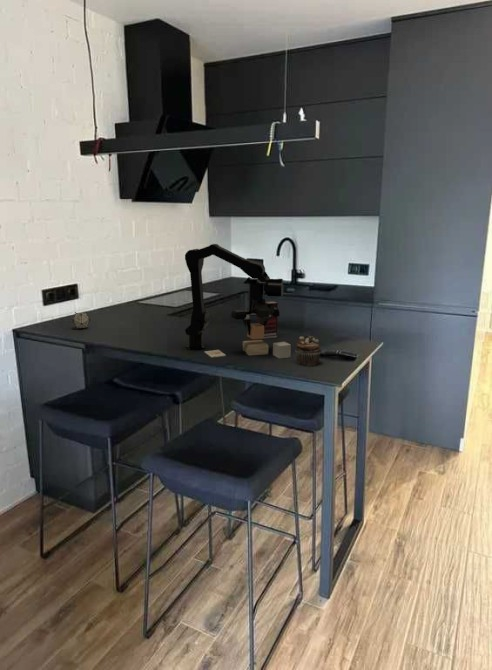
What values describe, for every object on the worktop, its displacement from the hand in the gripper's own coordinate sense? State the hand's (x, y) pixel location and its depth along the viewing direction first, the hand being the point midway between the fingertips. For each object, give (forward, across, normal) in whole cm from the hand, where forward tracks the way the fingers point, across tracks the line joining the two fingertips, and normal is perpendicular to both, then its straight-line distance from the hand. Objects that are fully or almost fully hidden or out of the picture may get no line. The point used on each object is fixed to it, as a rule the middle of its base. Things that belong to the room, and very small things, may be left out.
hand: (255, 334), depth 187 cm
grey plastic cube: (+7, +7, -9) cm, 14 cm away
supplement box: (+7, +15, +20) cm, 26 cm away
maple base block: (+7, 0, 0) cm, 7 cm away
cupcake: (+7, +12, -20) cm, 25 cm away
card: (+7, -16, +3) cm, 18 cm away
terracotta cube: (+1, 0, 0) cm, 1 cm away
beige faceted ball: (+8, -59, +67) cm, 90 cm away
